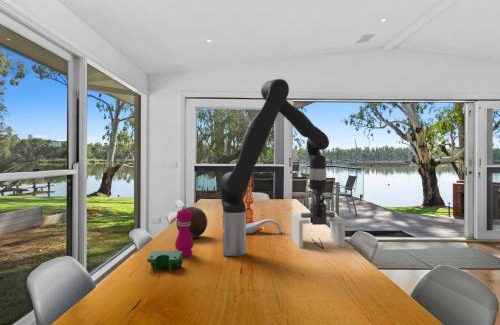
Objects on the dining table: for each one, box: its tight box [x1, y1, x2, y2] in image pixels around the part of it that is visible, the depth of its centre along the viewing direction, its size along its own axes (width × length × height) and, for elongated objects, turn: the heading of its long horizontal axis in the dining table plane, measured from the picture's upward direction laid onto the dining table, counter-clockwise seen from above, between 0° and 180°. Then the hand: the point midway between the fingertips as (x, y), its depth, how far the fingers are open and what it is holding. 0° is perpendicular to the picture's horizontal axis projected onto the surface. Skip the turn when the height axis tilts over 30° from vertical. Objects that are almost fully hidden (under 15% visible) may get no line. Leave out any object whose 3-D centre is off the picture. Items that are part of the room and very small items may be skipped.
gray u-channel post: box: [309, 202, 327, 226], centre depth 176 cm, size 6×5×9 cm
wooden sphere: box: [175, 206, 208, 239], centre depth 189 cm, size 15×15×15 cm
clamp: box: [146, 250, 184, 272], centre depth 137 cm, size 12×6×9 cm, turn 80°
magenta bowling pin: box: [174, 205, 195, 258], centre depth 155 cm, size 7×7×20 cm
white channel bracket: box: [291, 212, 346, 249], centre depth 177 cm, size 20×18×14 cm
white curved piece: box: [246, 218, 282, 235], centre depth 202 cm, size 24×12×7 cm, turn 86°
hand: (317, 216), depth 176 cm, fingers closed on gray u-channel post, 5 cm apart
